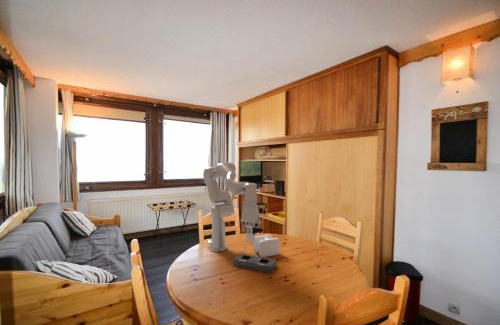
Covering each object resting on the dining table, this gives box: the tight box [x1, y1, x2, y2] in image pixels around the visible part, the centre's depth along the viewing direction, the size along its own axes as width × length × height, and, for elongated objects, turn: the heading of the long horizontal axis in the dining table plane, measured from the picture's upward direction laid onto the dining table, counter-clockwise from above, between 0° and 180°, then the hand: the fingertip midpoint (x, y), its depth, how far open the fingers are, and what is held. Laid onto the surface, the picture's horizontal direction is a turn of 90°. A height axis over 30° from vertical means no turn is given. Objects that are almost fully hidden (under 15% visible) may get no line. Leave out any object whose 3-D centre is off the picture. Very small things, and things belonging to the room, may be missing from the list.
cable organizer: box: [253, 233, 281, 258], centre depth 159 cm, size 15×11×12 cm
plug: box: [245, 223, 256, 244], centre depth 141 cm, size 4×5×11 cm
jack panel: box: [233, 252, 277, 274], centre depth 140 cm, size 24×10×4 cm, turn 65°
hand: (250, 233), depth 142 cm, fingers closed on plug, 4 cm apart
